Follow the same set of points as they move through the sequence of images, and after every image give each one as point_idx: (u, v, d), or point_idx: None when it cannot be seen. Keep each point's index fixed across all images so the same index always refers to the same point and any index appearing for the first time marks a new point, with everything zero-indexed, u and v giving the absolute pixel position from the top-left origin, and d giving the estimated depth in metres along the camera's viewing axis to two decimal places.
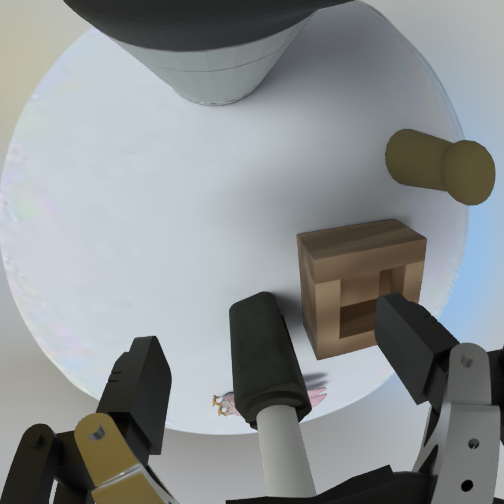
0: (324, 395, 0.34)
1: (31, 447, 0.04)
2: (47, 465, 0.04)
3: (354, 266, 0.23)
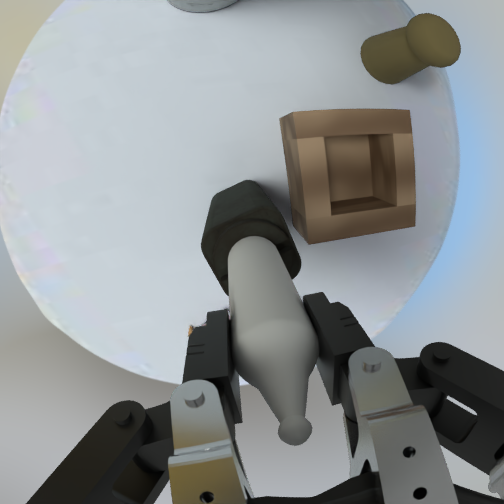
0: None
1: (114, 425, 0.05)
2: (126, 449, 0.05)
3: (336, 124, 0.21)
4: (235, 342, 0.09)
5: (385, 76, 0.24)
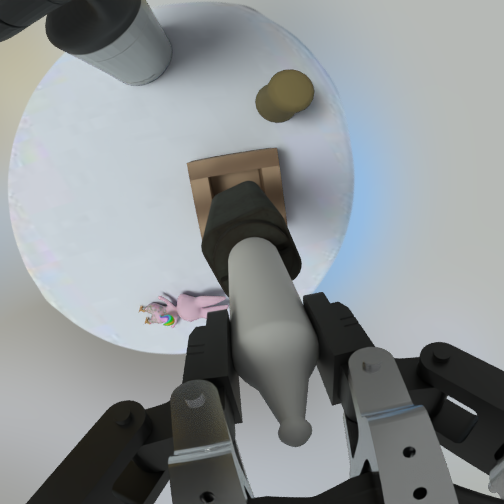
0: (226, 306, 0.44)
1: (114, 425, 0.05)
2: (126, 449, 0.05)
3: (216, 167, 0.34)
4: (236, 344, 0.09)
5: (272, 118, 0.37)
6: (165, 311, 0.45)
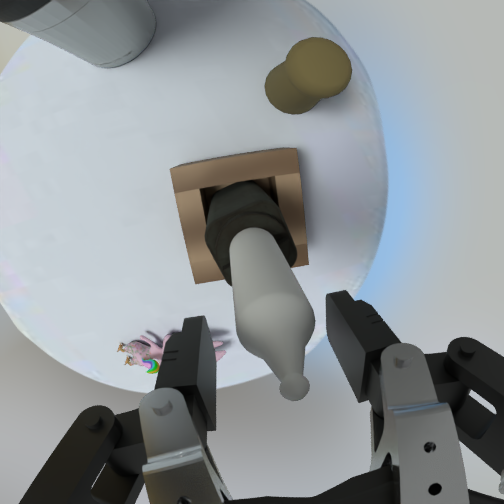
0: (222, 352, 0.35)
1: (86, 429, 0.05)
2: (100, 451, 0.05)
3: (211, 174, 0.24)
4: (240, 314, 0.10)
5: (287, 108, 0.27)
6: (148, 353, 0.35)
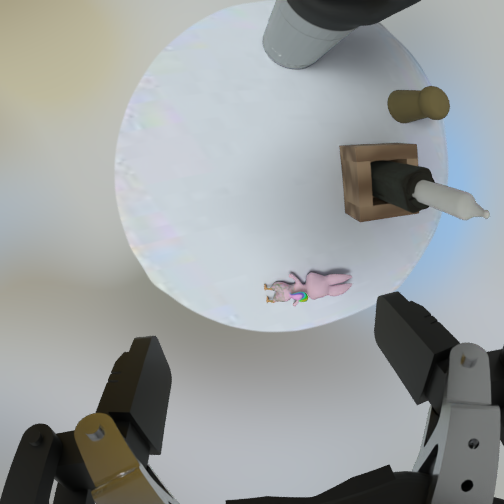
0: (350, 284, 0.48)
1: (31, 447, 0.04)
2: (47, 465, 0.04)
3: (377, 153, 0.37)
4: (459, 199, 0.23)
5: (402, 119, 0.40)
6: (293, 289, 0.48)
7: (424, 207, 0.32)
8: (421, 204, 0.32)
